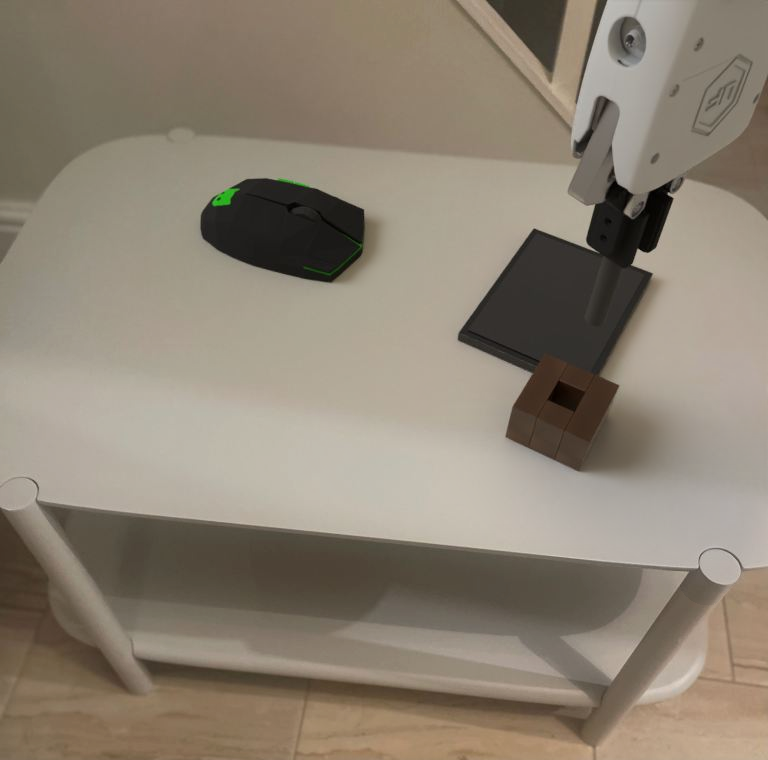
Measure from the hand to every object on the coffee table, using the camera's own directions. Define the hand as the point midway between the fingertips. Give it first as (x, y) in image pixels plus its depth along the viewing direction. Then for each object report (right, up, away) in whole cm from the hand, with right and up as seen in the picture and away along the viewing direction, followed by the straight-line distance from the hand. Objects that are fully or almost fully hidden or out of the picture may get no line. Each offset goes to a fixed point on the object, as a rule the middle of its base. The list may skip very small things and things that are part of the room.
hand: (620, 245), depth 48 cm
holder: (0, -12, +15) cm, 19 cm away
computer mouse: (-24, +6, +29) cm, 39 cm away
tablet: (+1, -2, +23) cm, 23 cm away
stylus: (0, -4, +5) cm, 7 cm away
